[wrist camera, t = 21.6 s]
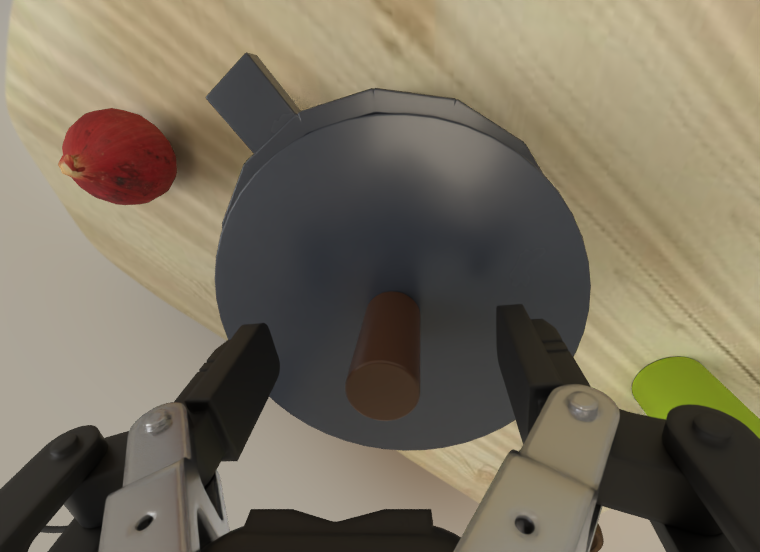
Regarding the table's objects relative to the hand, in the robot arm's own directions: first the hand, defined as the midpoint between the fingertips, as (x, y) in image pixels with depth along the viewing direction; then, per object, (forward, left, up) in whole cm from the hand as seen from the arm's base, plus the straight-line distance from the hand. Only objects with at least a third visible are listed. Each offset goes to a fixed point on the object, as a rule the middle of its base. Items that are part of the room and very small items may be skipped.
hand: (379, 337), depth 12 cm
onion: (-17, +6, -17) cm, 25 cm away
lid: (0, -1, -4) cm, 4 cm away
